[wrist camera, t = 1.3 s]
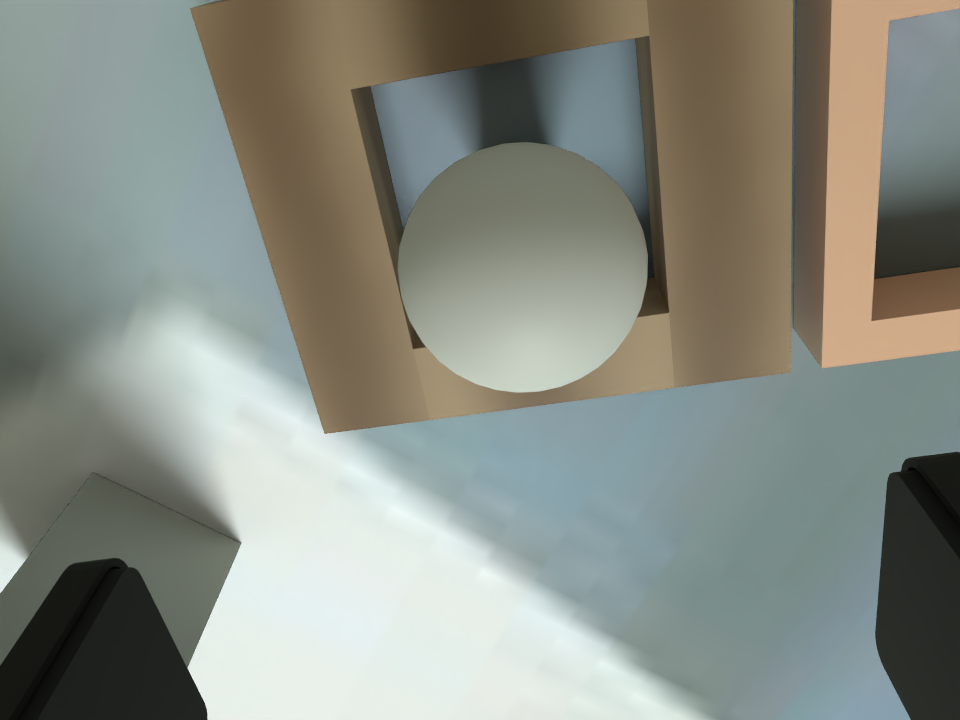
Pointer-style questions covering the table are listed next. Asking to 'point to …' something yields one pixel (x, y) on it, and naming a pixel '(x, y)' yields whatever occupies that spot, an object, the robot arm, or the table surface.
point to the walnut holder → (375, 216)
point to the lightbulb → (522, 267)
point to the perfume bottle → (126, 560)
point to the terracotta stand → (854, 195)
